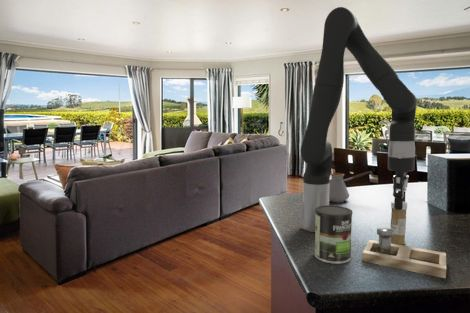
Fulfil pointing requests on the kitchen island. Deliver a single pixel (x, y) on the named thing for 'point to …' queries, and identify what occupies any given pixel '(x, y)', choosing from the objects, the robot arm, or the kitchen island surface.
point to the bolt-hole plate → (407, 259)
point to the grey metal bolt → (385, 240)
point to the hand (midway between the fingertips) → (399, 205)
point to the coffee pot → (340, 187)
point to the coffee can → (333, 234)
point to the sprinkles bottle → (398, 224)
